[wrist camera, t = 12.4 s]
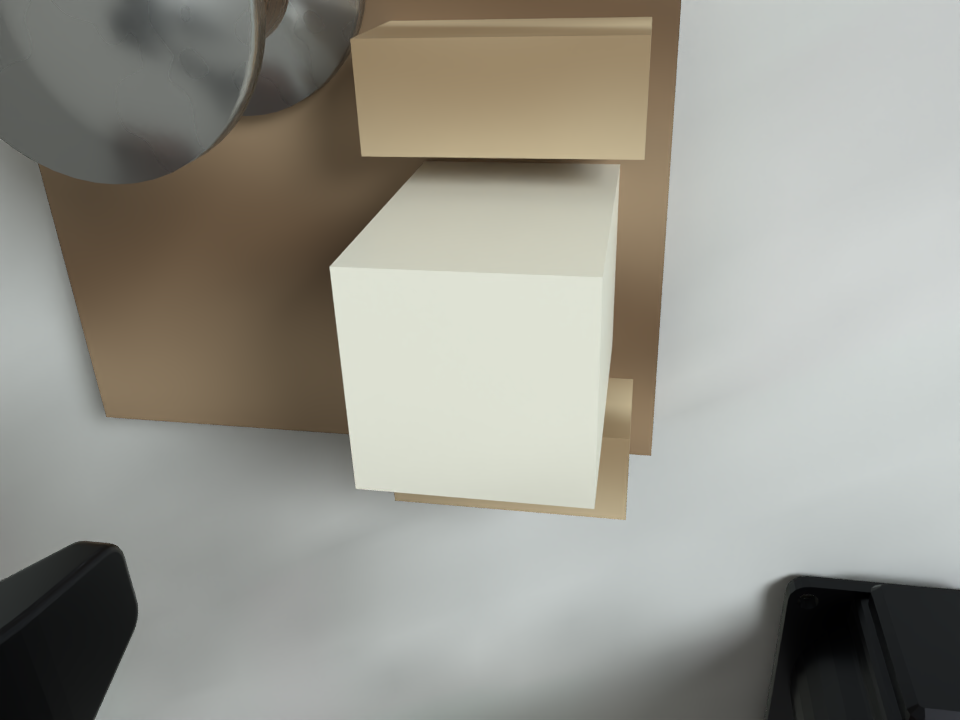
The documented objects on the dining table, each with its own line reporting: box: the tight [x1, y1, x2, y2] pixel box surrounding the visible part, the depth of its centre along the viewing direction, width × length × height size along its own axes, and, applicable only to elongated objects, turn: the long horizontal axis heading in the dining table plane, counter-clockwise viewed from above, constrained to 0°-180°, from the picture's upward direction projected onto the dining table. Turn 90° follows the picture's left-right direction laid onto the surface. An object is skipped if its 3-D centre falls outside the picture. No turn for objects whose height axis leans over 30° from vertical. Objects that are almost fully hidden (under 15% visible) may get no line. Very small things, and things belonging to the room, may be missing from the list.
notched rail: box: [350, 17, 652, 520], centre depth 18 cm, size 10×5×2 cm, turn 2°
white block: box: [330, 161, 620, 509], centre depth 16 cm, size 4×4×6 cm
